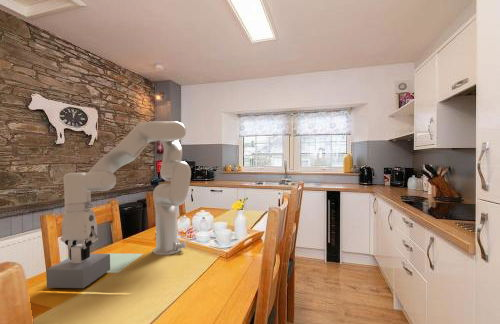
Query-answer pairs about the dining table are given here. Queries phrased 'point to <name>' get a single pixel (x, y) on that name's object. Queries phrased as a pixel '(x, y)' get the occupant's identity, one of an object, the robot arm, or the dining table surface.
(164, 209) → the robot arm
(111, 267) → the sage mat
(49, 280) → the cover
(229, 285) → the dining table surface
